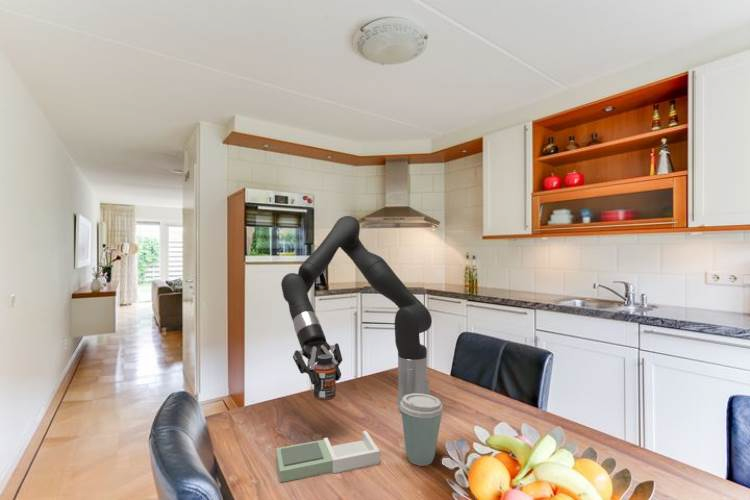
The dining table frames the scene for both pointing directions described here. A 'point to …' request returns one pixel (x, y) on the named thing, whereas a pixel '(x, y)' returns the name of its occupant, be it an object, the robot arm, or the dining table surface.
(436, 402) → the disposable coffee cup
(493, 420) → the dining table surface
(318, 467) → the green rectangular block
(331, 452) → the chute bracket
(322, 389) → the supplement bottle
